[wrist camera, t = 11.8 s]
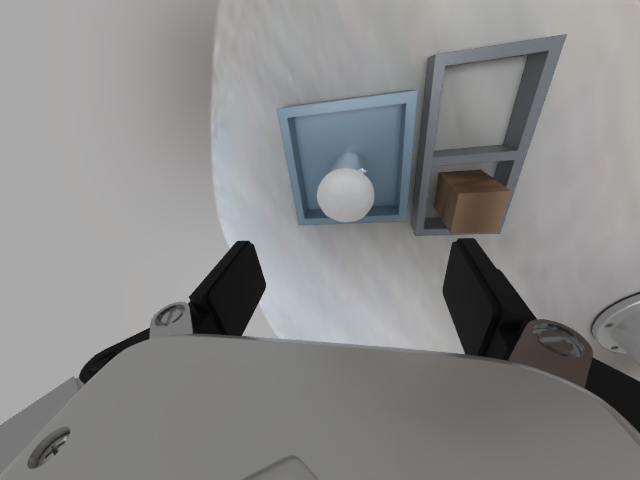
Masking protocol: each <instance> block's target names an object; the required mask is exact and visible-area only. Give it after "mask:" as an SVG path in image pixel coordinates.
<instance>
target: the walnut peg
mask: <svg viewBox="0 0 640 480" xmlns="http://www.w3.org/2000/svg"><path fill="white" fill-rule="evenodd" d="M510 193H511V190H509V189H508V188H506V187H505V186H504V185H502V184H501V183H499V182H498V181H496V180H495V179H493V178H492V177H490V176H489V175H487V174H486V173H485V172H483V171H482V170H467V171H453V172H439V175H438V182H437V188H436V195H435V202H434V208H435V210H436V211H437V213H438V214H439V216H440V218H441V219H442V221H443V223H444V224H445V226H446V227H447V229H448V231H449V232H450V234H453V233H490V232H498V230H499V226H500V223H501V220H502V217H503V214H504V211H505V208H506V205H507V202H508V199H509V196H510Z"/></svg>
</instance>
